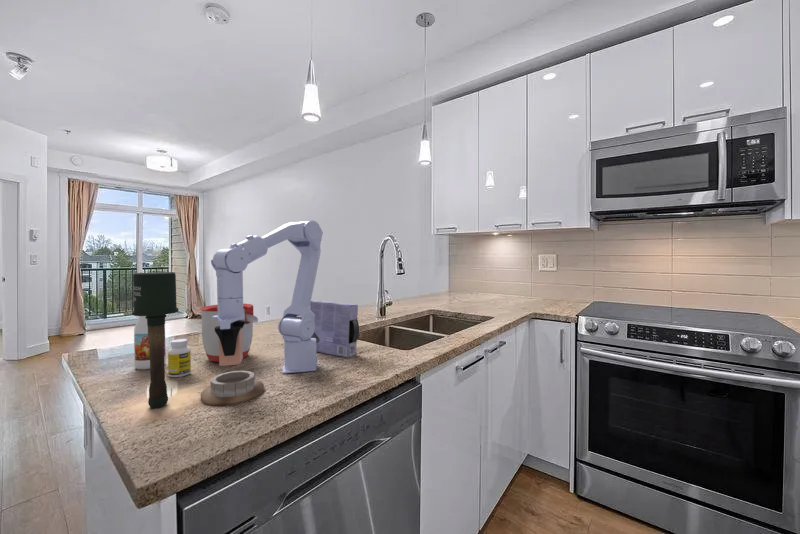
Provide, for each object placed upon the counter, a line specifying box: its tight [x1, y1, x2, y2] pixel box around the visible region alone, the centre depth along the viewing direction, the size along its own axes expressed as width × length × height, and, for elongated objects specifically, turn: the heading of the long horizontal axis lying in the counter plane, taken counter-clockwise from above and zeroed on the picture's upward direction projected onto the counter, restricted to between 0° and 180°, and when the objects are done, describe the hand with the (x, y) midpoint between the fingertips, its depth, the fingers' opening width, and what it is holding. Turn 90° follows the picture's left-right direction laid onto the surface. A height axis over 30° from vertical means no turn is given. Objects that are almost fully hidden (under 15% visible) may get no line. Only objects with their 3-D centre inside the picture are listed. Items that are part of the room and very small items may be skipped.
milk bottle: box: [133, 316, 167, 371], centre depth 107 cm, size 8×8×20 cm
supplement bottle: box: [167, 338, 192, 378], centre depth 100 cm, size 5×5×10 cm
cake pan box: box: [310, 299, 360, 359], centre depth 122 cm, size 19×5×18 cm, turn 60°
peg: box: [218, 328, 244, 367], centre depth 87 cm, size 4×4×8 cm
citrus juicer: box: [200, 303, 259, 363], centre depth 116 cm, size 16×17×20 cm
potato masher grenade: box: [131, 271, 180, 409], centre depth 79 cm, size 8×9×30 cm
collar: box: [200, 370, 265, 406], centre depth 87 cm, size 14×14×4 cm
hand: (231, 352), depth 87 cm, fingers closed on peg, 4 cm apart
